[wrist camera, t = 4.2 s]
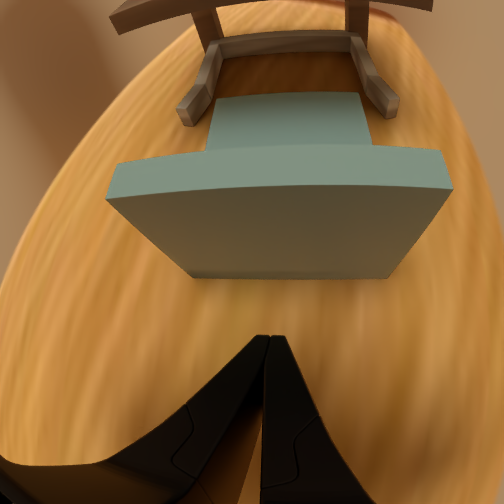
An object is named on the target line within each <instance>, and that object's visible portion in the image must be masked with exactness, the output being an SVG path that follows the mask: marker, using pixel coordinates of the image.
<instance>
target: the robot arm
mask: <svg viewBox="0 0 504 504" xmlns="http://www.w3.org/2000/svg"><path fill="white" fill-rule="evenodd" d="M319 415H320V414H319V412H318V409H317V407H316V405H315V403H314V400H313V398H312V396H311V394H310V391H309V389H308V387H307V385H306V382H305V380H304V378H303V375H302V373H301V371H300V369H299V366H298V364H297V362H296V360H295V357H294V355H293V353H292V350H291V348H290V346H289V344H288V341H287V339H286V337H285V336H283V335H272V336H271V337H270V336H269V335H256V336H255V337H254V338H253V339H252V340H251V341H250V342H249V343H248V344H247V345H246V346H245V347H244V348H243V349H242V350H241V351H240V352H239V353H238V354H237V355H236V356H235V357H234V358H233V359H231V360H230V361H229V362H228V363H227V364H226V365H225V366H224V367H223V368H222V369H221V370H220V371H219V372H218V373H217V374H216V375H215V376H214V377H213V378H212V379H211V380H210V381H209V382H208V383H206V384H205V385H204V386H203V387H202V388H201V389H200V390H199V391H198V392H197V393H196V394H195V395H194V396H193V397H191V398H190V399H189V400H188V401H187V402H186V404H184V405H182V406H181V407H180V408H179V409H178V410H177V411H176V412H175V413H173V414H172V415H171V416H170V417H169V418H167V419H166V420H165V421H164V422H163V423H161V424H160V425H159V426H157V427H156V428H154V429H153V430H152V431H150V432H149V433H147V434H146V435H144V436H143V437H141V438H140V439H138V440H137V441H135V442H134V443H132V444H131V445H129V446H128V447H126V448H124V449H123V450H121V451H120V452H118V453H116V454H115V455H113V456H111V457H109V458H107V459H105V460H103V461H100V462H96V463H92V464H81V465H62V466H28V465H20V464H15V463H12V462H10V461H8V460H6V459H5V458H3V457H2V456H1V455H0V504H237V503H238V500H239V497H240V493H241V490H242V487H243V484H244V481H245V478H246V474H247V471H248V468H249V465H250V461H251V458H252V455H253V451H254V448H255V445H256V441H257V438H258V434H259V431H260V427H261V423H262V451H261V481H260V489H261V491H260V504H376V503H375V502H374V501H373V500H372V499H371V497H370V496H369V495H368V494H367V492H366V491H365V490H364V488H363V487H362V485H361V484H360V482H359V481H358V480H357V478H356V477H355V475H354V474H353V472H352V471H351V469H350V468H349V466H348V465H347V463H346V462H345V460H344V459H343V457H342V456H341V454H340V453H339V451H338V449H337V448H336V446H335V444H334V443H333V441H332V439H331V437H330V435H329V433H328V431H327V429H326V427H325V425H324V423H323V420H322V418H321V416H319Z"/></svg>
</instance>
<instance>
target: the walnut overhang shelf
mask: <svg viewBox="0 0 504 504" xmlns="http://www.w3.org/2000/svg"><path fill="white" fill-rule="evenodd" d="M257 1H267V0H127V1H126V2H124V3H123V4H122V5H121V6H120V7H119V8H118V9H116V10H115V11H114V12H113V13H112V14H111V15H110V16H109V18H110V20H111V22H112V24H113V25H114V27H115V29H116V31H117V33H118V35H121V34H123V33H126V32H129V31H131V30H134V29H137V28H140V27H143V26H146V25H149V24H152V23H155V22H159V21H162V20H165V19H169V18H173V17H176V16H180V15H184V14H188V13H191V14H192V17H193V20H194V23H195V26H196V29H197V31H198V34H199V37H200V40H201V43H202V46H203V49H204V51H205V57H204V60H203V62H202V65H201V68H200V70H199V73H198V76H197V79H196V81H195V84H194V86H193V87H192V88H191V89H190V91H189V92H188V93H187V94H186V96H185V97H184V98H183V99H182V101H181V102H180V103H179V105H178V106H177V107H176V108H175V109H176V111H177V113H178V115H179V117H180V119H181V121H182V123H183V125H184V126H195V124H196V123H197V121H198V120H199V118H200V117H201V115H202V114H203V113H204V111H205V110H206V108H207V107H208V106H209V104H210V103H211V101H212V98H213V94H214V90H215V86H216V83H217V79H218V75H219V72H220V68H221V64H222V61H223V59H226V58H233V57H241V56H250V55H260V54H272V53H287V52H350V53H351V55H352V58H353V61H354V63H355V66H356V69H357V71H358V74H359V77H360V80H361V83H362V86H363V88H364V91H365V94H366V96H367V97H368V98H369V99H370V100H371V102H372V103H373V104H374V105H375V107H376V108H377V109H378V110H379V112H380V113H381V114H382V115H383V117H384V118H385V119H389V118H394V117H396V114H397V110H398V106H399V101H400V98H399V97H398V96H397V94H396V93H395V92H394V91H393V90H392V89H391V88H390V87H389V86H388V85H387V84H386V82H385V81H384V80H383V79H382V78H381V77H380V76H379V75H378V72H377V70H376V68H375V66H374V63H373V61H372V59H371V57H370V55H369V53H368V51H367V39H368V21H369V1H373V2H382V3H388V4H395V5H401V6H407V7H412V8H417V9H422V10H426V11H431V12H432V7H433V0H345V30H292V31H275V32H263V33H253V34H244V35H237V36H230V37H224V35H223V31H222V28H221V24H220V21H219V18H218V14H217V11H216V7H222V6H228V5H234V4H241V3H248V2H257Z"/></svg>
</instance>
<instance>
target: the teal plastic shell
mask: <svg viewBox="0 0 504 504" xmlns="http://www.w3.org/2000/svg"><path fill="white" fill-rule="evenodd" d="M452 191H453V186H452V183H451V180H450V176H449V173H448V170H447V167H446V164H445V162H444V159H443V156H442V153H441V151H440V150H433V149H423V148H411V147H397V146H379V145H373V144H372V140H371V136H370V132H369V128H368V124H367V120H366V117H365V113H364V110H363V106H362V103H361V99H360V96H359V93H358V92H286V93H269V94H256V95H245V96H236V97H227V98H220V99H216V103H215V107H214V112H213V116H212V120H211V125H210V129H209V134H208V139H207V143H206V148H205V151H200V152H191V153H183V154H175V155H168V156H161V157H154V158H148V159H142V160H136V161H130V162H124V163H119V164H117V166H116V169H115V171H114V174H113V177H112V180H111V183H110V186H109V189H108V192H107V195H106V198H105V200H107V201H108V202H109V203H110V204H111V205H112V206H113V207H114V208H115V209H116V210H117V211H118V212H119V213H120V214H121V215H122V216H124V217H125V218H126V219H127V220H128V221H129V222H130V223H131V224H132V225H133V226H134V227H136V228H137V229H138V230H139V231H140V232H141V233H142V234H143V235H144V236H145V237H147V238H148V239H149V240H150V241H151V242H152V243H153V244H154V245H156V246H157V247H158V248H159V249H160V250H161V251H162V252H163V253H165V254H166V255H167V256H168V257H169V258H170V259H171V260H173V261H174V262H175V263H176V264H177V265H178V266H180V267H181V268H182V269H183V270H184V271H185V272H187V273H188V274H189V275H190V276H191V277H192V278H210V279H297V280H310V279H387V278H388V276H389V275H390V274H391V273H392V272H393V270H394V269H395V268H396V267H397V265H398V264H399V263H400V262H401V260H402V259H403V258H404V257H405V255H406V254H407V253H408V252H409V250H410V249H411V248H412V247H413V245H414V244H415V243H416V241H417V240H418V239H419V237H420V236H421V235H422V233H423V232H424V231H425V229H426V228H427V227H428V225H429V224H430V223H431V221H432V220H433V218H434V217H435V216H436V214H437V213H438V211H439V210H440V208H441V207H442V206H443V204H444V203H445V201H446V200H447V198H448V197H449V195H450V194H451V192H452Z"/></svg>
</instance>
